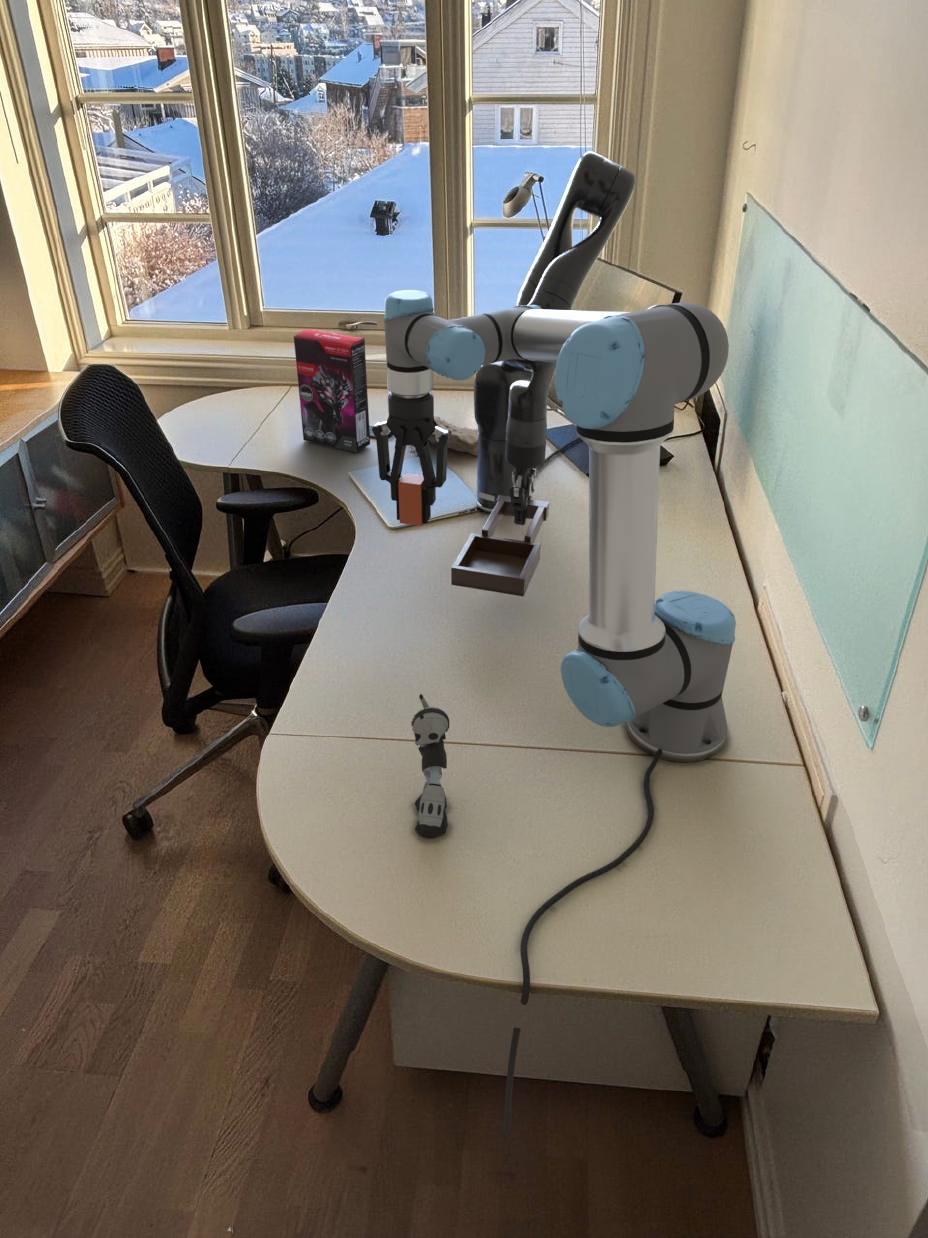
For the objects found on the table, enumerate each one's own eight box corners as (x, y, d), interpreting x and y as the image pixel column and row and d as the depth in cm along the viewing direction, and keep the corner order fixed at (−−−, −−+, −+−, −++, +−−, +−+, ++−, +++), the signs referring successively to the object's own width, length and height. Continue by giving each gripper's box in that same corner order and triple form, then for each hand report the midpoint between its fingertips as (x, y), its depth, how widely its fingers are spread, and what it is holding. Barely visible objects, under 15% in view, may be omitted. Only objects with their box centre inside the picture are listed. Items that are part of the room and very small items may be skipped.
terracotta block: (421, 526, 162) (420, 484, 157) (399, 523, 162) (398, 481, 158) (427, 516, 165) (427, 475, 160) (406, 513, 166) (405, 472, 161)
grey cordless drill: (452, 871, 119) (452, 756, 108) (414, 872, 119) (410, 757, 108) (447, 767, 136) (446, 657, 124) (413, 768, 135) (410, 658, 124)
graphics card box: (301, 441, 235) (290, 334, 220) (317, 432, 240) (307, 326, 225) (357, 454, 229) (350, 345, 213) (372, 444, 234) (367, 337, 218)
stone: (393, 439, 229) (398, 415, 226) (412, 430, 242) (417, 408, 240) (473, 463, 225) (479, 439, 223) (488, 453, 238) (493, 431, 236)
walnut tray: (523, 596, 158) (524, 574, 156) (451, 584, 161) (451, 562, 159) (555, 523, 180) (557, 502, 178) (491, 514, 183) (491, 493, 181)
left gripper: (537, 454, 165) (532, 539, 174) (553, 426, 176) (547, 507, 185) (497, 449, 166) (494, 534, 176) (515, 421, 177) (511, 502, 187)
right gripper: (466, 388, 152) (465, 515, 165) (369, 378, 155) (375, 503, 168) (454, 404, 146) (454, 534, 159) (353, 393, 149) (361, 521, 162)
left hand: (521, 520), depth 181 cm, fingers closed on walnut tray, 2 cm apart
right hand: (413, 518), depth 163 cm, fingers closed on terracotta block, 4 cm apart
